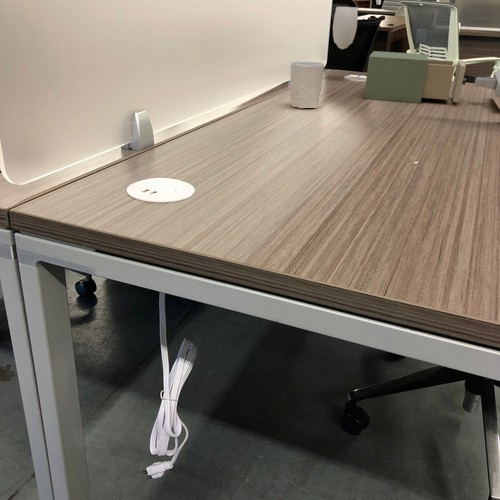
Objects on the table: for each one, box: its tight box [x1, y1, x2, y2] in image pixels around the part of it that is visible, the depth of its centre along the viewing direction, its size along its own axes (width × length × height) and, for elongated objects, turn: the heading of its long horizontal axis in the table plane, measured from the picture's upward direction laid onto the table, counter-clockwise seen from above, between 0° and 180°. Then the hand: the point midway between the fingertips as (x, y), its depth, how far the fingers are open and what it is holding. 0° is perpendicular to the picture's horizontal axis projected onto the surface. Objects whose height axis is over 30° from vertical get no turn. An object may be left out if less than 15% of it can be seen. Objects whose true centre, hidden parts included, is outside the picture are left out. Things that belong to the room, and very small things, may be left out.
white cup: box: [289, 60, 325, 109], centre depth 122 cm, size 8×8×10 cm
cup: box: [332, 6, 359, 50], centre depth 157 cm, size 7×7×21 cm
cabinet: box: [363, 50, 429, 104], centre depth 136 cm, size 15×13×11 cm
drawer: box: [421, 58, 467, 103], centre depth 133 cm, size 15×11×9 cm
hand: (475, 81), depth 130 cm, fingers closed
